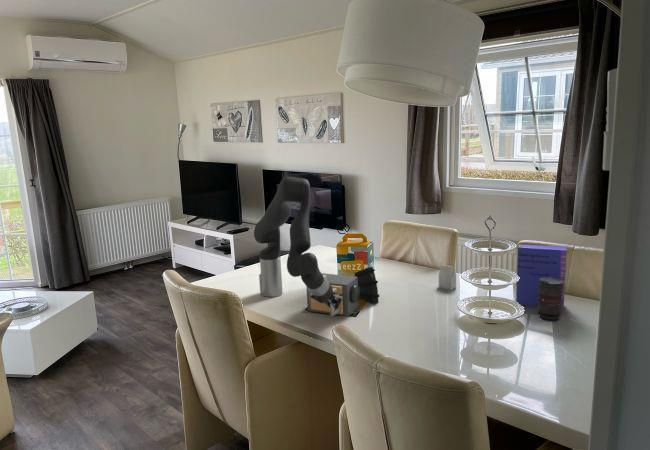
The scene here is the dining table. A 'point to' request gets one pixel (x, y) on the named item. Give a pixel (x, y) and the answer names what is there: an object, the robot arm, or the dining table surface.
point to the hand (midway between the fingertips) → (334, 306)
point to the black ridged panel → (368, 285)
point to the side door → (323, 307)
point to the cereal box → (538, 271)
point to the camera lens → (550, 299)
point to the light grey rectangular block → (447, 277)
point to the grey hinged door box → (343, 292)
